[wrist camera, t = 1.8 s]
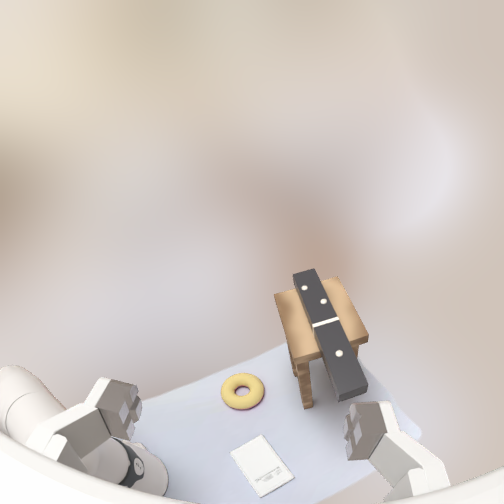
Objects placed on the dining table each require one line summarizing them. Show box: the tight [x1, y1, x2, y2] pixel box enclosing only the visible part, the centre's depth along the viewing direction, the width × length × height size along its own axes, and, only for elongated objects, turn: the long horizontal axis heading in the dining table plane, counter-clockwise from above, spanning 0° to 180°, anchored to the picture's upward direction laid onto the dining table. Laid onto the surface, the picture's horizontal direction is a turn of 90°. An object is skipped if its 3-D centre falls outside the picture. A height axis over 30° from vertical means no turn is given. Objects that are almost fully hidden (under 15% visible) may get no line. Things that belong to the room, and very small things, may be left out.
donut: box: [221, 373, 264, 409], centre depth 66 cm, size 10×5×9 cm
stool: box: [274, 277, 369, 409], centre depth 57 cm, size 12×14×26 cm
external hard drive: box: [230, 434, 295, 498], centre depth 52 cm, size 2×8×12 cm
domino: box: [293, 269, 368, 402], centre depth 45 cm, size 4×24×3 cm, turn 9°
